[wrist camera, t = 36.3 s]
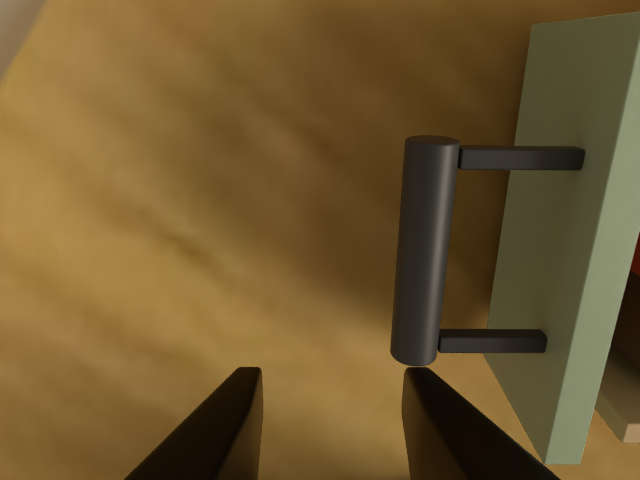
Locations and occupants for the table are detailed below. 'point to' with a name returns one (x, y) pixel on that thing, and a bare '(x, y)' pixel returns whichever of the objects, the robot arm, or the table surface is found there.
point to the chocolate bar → (630, 315)
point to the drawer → (542, 238)
